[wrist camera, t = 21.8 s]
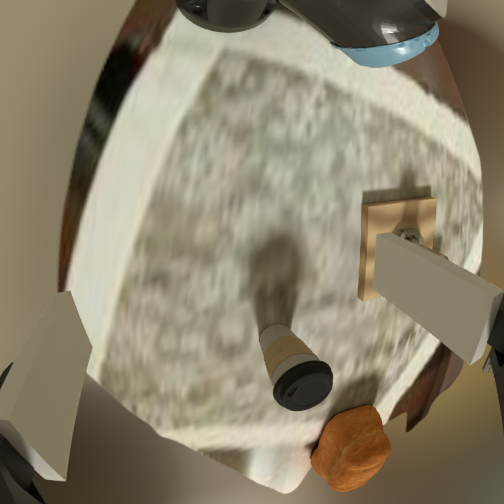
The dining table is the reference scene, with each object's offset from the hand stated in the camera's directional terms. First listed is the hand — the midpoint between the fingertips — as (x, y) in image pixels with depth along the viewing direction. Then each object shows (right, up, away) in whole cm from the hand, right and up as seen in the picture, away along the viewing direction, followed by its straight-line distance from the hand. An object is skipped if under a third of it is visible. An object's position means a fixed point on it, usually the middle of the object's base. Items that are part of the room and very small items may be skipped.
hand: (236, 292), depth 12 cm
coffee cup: (+5, -14, +41) cm, 44 cm away
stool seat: (+29, +3, +42) cm, 51 cm away
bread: (+26, -51, +61) cm, 84 cm away
